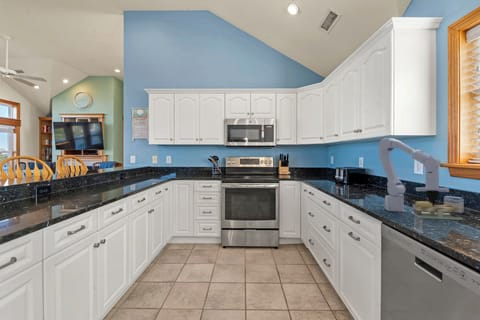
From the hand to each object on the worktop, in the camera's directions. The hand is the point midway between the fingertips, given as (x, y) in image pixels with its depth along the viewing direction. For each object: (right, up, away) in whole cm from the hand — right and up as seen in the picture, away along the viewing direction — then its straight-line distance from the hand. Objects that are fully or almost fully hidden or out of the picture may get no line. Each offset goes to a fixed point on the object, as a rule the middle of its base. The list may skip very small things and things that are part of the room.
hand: (432, 204), depth 136 cm
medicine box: (+20, -6, +9) cm, 23 cm away
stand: (+2, -6, 0) cm, 6 cm away
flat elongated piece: (+2, -2, 0) cm, 3 cm away
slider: (-4, -2, +1) cm, 4 cm away
